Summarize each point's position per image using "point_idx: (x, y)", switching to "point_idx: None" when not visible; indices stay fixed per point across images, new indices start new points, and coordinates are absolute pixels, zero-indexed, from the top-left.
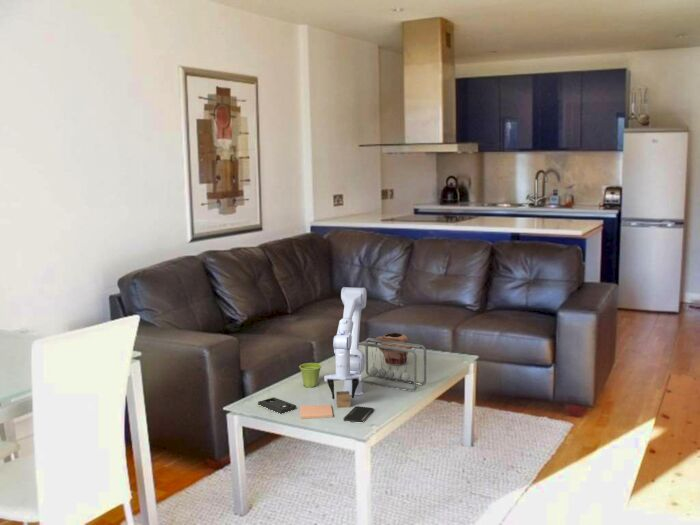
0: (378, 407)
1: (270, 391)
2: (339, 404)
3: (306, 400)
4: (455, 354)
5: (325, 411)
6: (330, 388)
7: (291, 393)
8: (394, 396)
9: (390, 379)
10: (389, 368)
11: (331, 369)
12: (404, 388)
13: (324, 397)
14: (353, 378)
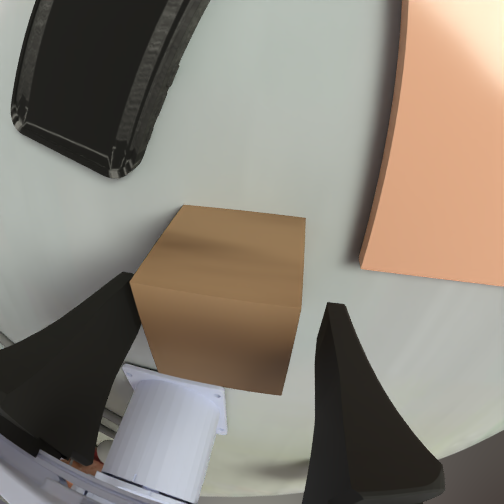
0: (9, 169)
1: (489, 432)
2: (282, 233)
3: (449, 374)
4: None
5: (467, 99)
6: (396, 418)
7: (449, 426)
8: (5, 299)
9: None
10: None
11: (248, 485)
12: (5, 342)
13: None
14: (30, 461)
